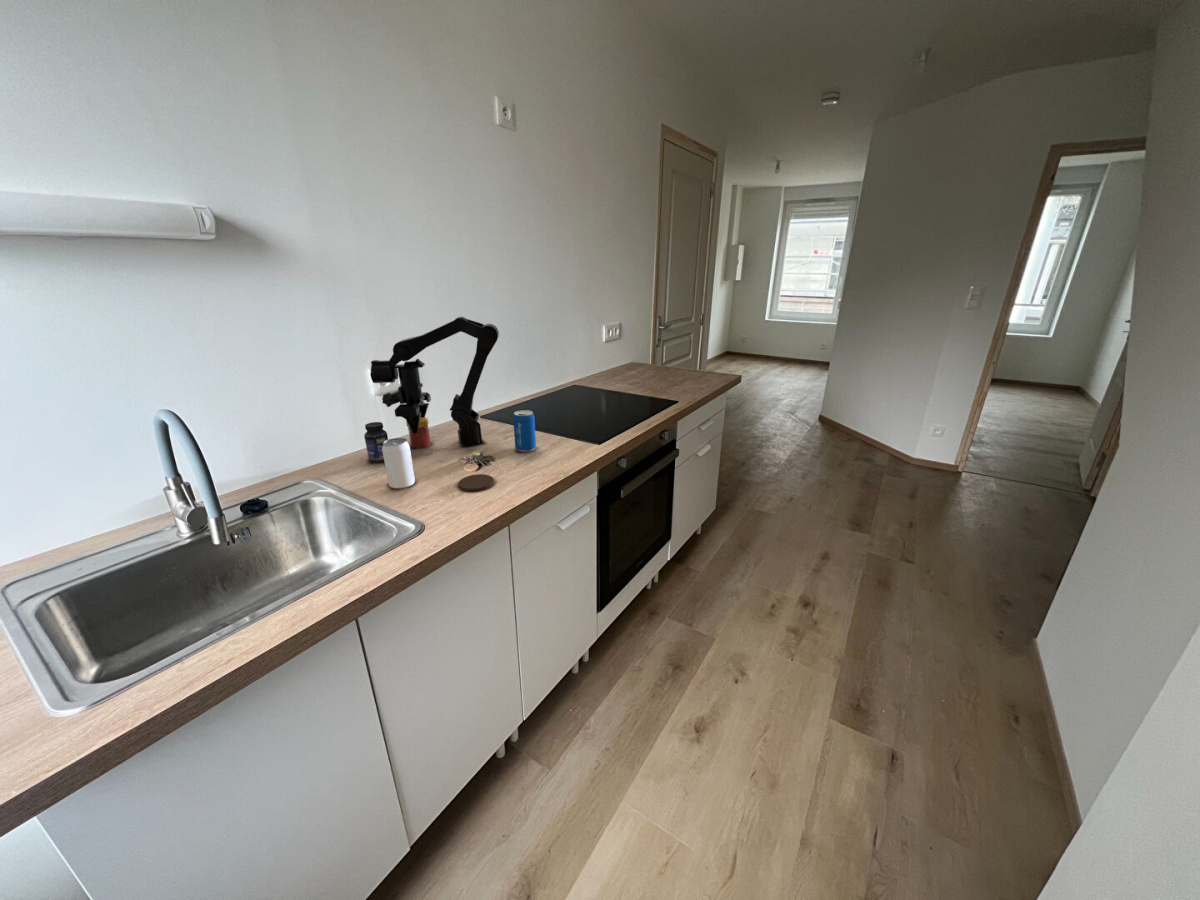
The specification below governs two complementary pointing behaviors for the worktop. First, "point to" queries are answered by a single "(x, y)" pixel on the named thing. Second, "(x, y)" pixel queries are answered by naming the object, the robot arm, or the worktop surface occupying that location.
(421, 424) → the lid
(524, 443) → the beverage can
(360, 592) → the worktop surface
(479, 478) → the coaster
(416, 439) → the dark red cylinder
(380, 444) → the pill bottle
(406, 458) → the can
